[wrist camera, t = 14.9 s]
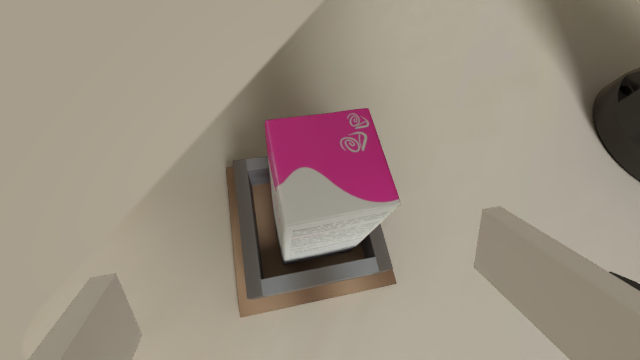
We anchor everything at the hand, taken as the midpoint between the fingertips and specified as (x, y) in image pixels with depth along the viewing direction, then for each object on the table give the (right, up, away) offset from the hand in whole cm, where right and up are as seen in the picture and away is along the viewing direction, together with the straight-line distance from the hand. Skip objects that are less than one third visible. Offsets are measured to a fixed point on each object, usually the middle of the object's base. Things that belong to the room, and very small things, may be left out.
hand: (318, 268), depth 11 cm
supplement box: (-1, 0, +14) cm, 14 cm away
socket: (-1, -1, +15) cm, 15 cm away
